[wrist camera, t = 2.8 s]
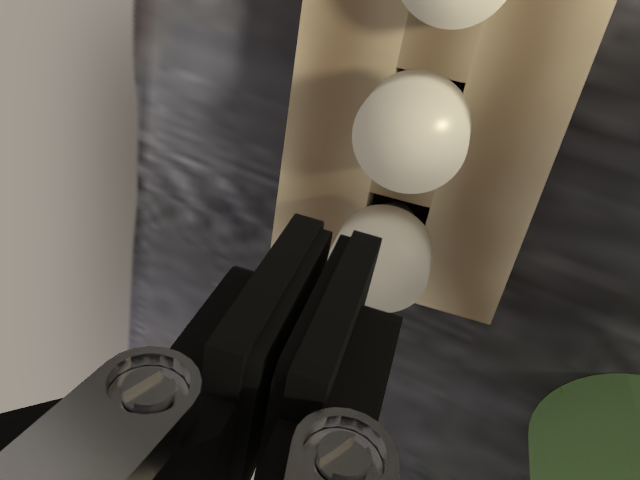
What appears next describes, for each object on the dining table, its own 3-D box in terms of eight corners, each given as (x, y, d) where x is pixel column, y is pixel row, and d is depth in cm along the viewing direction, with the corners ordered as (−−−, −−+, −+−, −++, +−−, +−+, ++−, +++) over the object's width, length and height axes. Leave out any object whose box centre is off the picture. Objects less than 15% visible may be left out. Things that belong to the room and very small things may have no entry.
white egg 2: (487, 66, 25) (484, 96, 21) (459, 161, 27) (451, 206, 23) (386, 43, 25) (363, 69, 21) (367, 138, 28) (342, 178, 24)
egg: (450, 191, 28) (440, 240, 24) (427, 267, 30) (414, 324, 26) (361, 169, 29) (336, 212, 24) (345, 244, 31) (320, 297, 27)
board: (733, -348, 19) (768, -388, 16) (491, 292, 32) (490, 324, 30) (375, -385, 21) (357, -427, 18) (286, 235, 34) (268, 261, 32)
